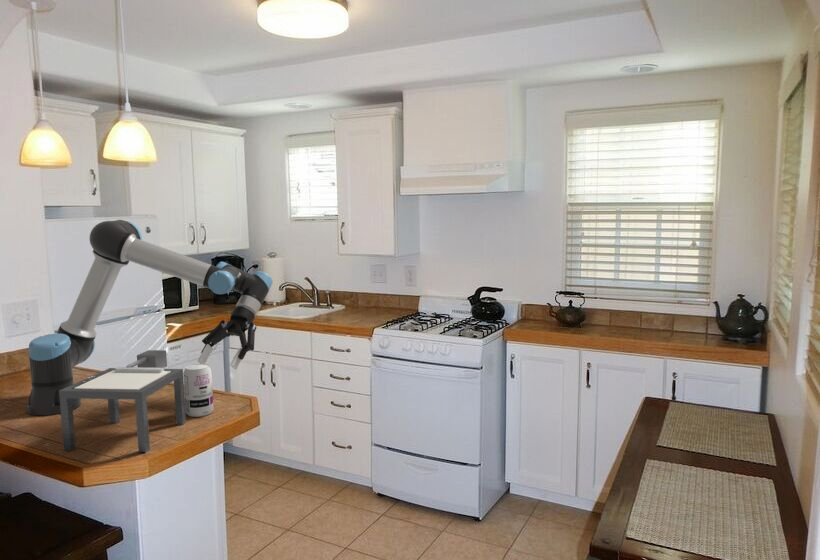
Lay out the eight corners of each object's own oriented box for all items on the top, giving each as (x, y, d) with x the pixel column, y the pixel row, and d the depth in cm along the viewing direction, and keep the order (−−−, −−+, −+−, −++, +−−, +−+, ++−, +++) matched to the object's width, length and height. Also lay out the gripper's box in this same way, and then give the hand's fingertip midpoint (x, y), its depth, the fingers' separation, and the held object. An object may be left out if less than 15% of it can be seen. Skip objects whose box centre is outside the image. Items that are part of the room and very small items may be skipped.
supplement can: (198, 407, 198) (195, 362, 196) (219, 410, 195) (216, 364, 193) (180, 415, 190) (177, 368, 188) (201, 418, 187) (198, 371, 185)
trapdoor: (74, 399, 164) (73, 380, 164) (143, 365, 199) (142, 350, 198) (138, 400, 162) (137, 381, 162) (196, 366, 197) (195, 350, 196)
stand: (63, 450, 164) (58, 390, 162) (113, 420, 186) (109, 368, 184) (145, 452, 161) (141, 392, 159) (185, 422, 184) (182, 369, 182)
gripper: (280, 320, 206) (253, 375, 195) (222, 315, 217) (194, 367, 205) (269, 307, 201) (241, 362, 189) (211, 303, 211) (181, 355, 200)
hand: (216, 365), depth 197 cm, fingers open, 13 cm apart
